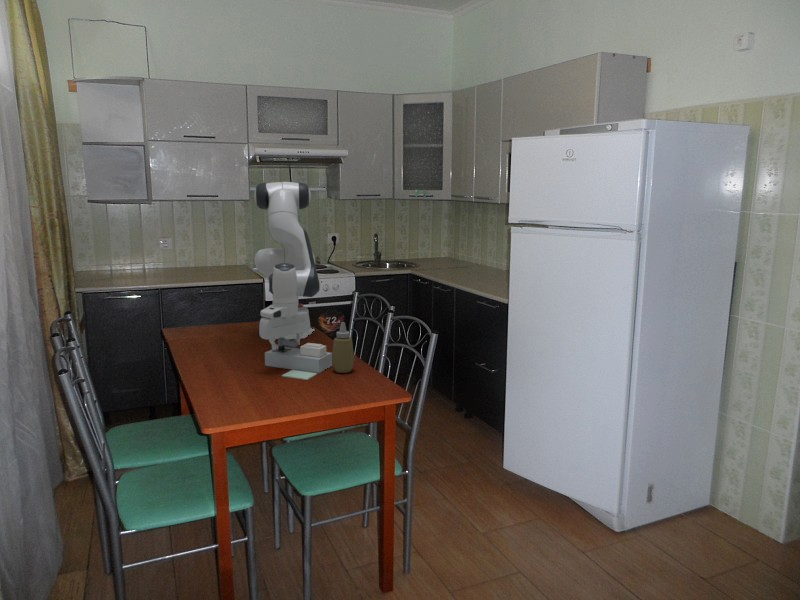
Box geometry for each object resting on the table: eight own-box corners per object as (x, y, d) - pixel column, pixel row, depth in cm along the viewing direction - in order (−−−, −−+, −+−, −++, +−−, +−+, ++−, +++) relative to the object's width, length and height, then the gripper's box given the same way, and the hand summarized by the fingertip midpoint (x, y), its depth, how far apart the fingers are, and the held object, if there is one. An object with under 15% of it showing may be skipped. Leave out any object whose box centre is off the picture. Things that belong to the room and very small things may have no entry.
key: (282, 348, 228) (281, 337, 227) (299, 353, 222) (298, 341, 221) (276, 349, 226) (276, 338, 226) (294, 354, 220) (293, 342, 220)
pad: (292, 370, 219) (292, 369, 219) (316, 374, 215) (316, 373, 215) (281, 376, 212) (281, 375, 212) (306, 380, 209) (306, 378, 209)
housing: (279, 358, 234) (279, 345, 233) (332, 365, 226) (332, 352, 225) (265, 365, 224) (264, 351, 223) (319, 373, 216) (318, 358, 215)
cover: (307, 351, 226) (307, 341, 225) (326, 353, 223) (326, 344, 222) (300, 354, 221) (300, 344, 220) (319, 357, 218) (319, 347, 217)
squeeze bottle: (354, 374, 216) (354, 324, 213) (331, 374, 215) (331, 324, 212) (354, 367, 224) (354, 319, 221) (332, 367, 223) (332, 319, 220)
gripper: (302, 304, 226) (303, 340, 229) (256, 312, 212) (257, 350, 214) (313, 307, 222) (314, 343, 225) (267, 314, 207) (267, 354, 210)
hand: (285, 347), depth 219 cm, fingers open, 8 cm apart
